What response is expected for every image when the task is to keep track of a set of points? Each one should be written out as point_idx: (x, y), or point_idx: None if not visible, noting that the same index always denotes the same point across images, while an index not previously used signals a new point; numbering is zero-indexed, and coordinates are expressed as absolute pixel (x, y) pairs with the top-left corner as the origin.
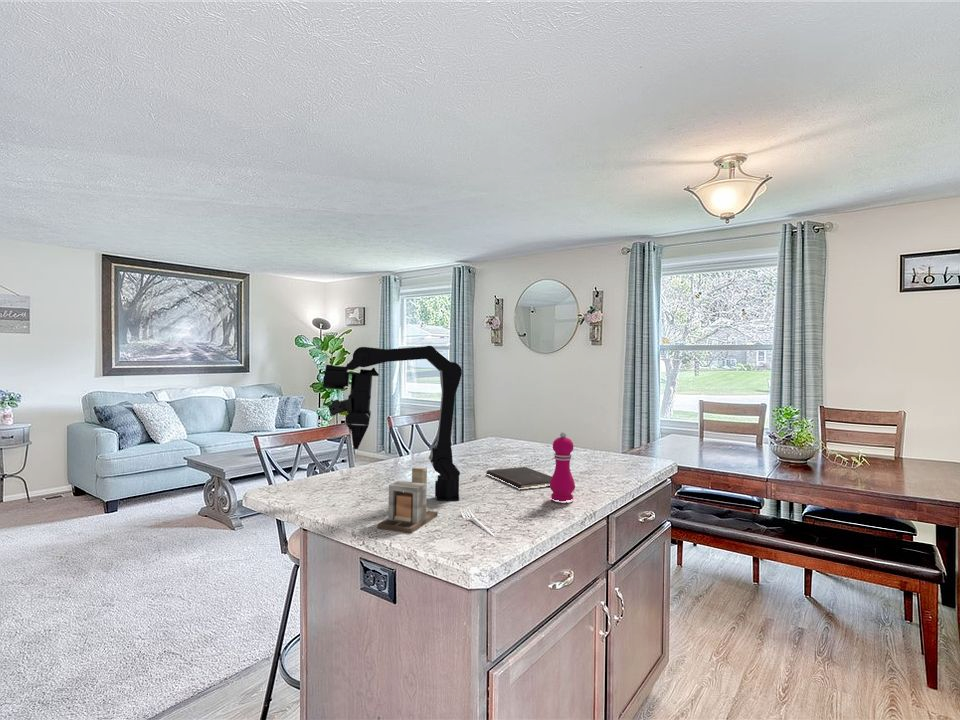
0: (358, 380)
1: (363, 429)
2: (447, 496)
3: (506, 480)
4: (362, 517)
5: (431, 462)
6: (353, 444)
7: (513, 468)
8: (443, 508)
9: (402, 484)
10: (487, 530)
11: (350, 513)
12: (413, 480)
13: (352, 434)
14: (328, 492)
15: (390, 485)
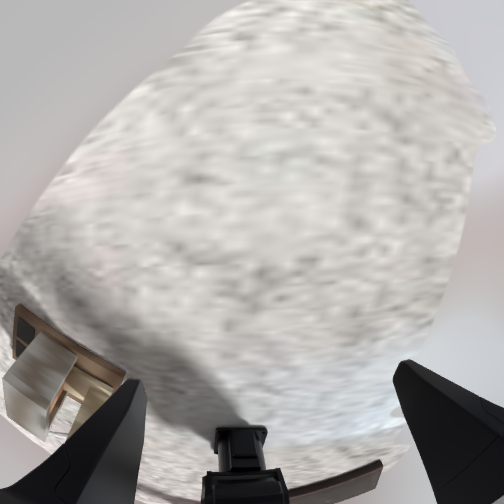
0: None
1: None
2: (218, 445)
3: (314, 488)
4: (74, 274)
5: (265, 487)
6: (108, 401)
7: (374, 483)
8: (158, 427)
9: (19, 405)
10: (54, 434)
11: (105, 241)
12: (68, 435)
13: (45, 465)
14: (368, 156)
15: (2, 380)
